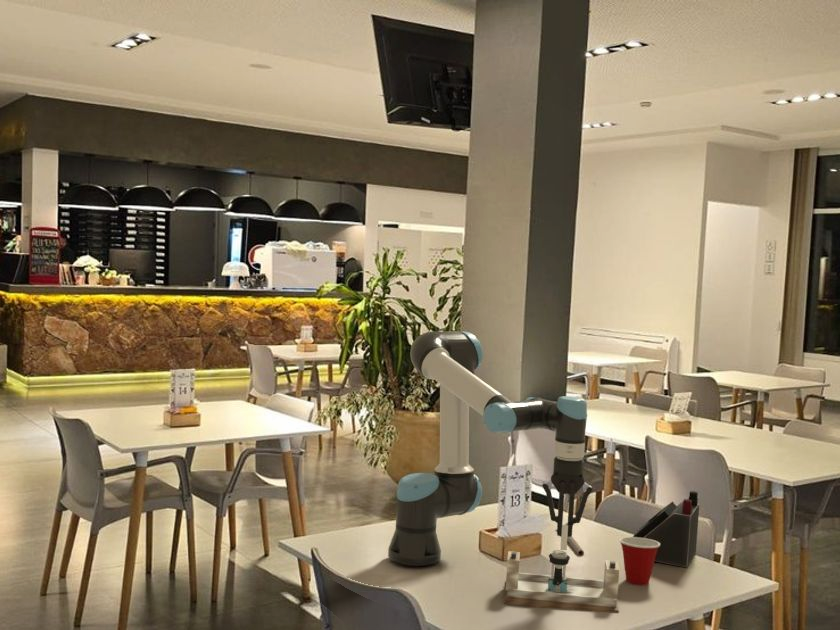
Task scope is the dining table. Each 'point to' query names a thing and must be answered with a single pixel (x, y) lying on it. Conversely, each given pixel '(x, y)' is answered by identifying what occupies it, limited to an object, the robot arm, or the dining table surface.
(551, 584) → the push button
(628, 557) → the plastic cup
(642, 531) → the dark desk organizer
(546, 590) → the board
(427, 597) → the dining table surface
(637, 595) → the dining table surface
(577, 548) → the metal rod
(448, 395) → the robot arm
